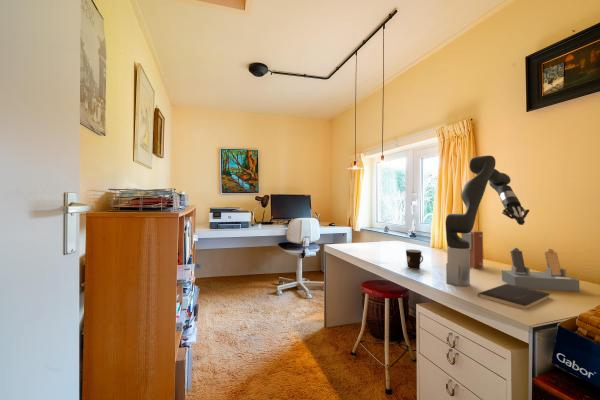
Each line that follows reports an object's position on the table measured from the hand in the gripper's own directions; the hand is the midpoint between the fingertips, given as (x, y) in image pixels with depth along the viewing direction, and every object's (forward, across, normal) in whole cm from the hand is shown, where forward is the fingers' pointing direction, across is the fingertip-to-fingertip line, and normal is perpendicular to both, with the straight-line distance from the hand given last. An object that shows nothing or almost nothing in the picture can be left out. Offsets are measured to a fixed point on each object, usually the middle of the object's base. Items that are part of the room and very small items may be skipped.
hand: (522, 223), depth 144 cm
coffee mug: (+17, -53, +21) cm, 59 cm away
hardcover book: (+47, -22, -8) cm, 52 cm away
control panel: (+8, -18, +31) cm, 37 cm away
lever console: (+32, -3, +6) cm, 33 cm away
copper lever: (+29, +4, +2) cm, 29 cm away
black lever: (+29, -10, +2) cm, 31 cm away
